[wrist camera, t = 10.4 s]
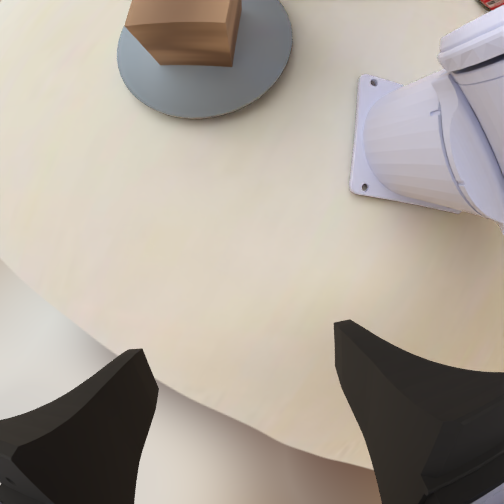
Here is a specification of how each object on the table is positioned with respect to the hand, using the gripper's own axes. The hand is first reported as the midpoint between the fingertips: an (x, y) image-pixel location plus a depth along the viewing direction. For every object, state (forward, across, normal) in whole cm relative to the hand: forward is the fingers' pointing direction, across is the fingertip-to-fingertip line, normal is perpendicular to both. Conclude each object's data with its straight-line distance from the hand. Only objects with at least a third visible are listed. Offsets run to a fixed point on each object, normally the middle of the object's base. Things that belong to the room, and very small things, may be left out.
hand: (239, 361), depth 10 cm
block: (+8, 0, -16) cm, 18 cm away
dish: (+9, 0, -16) cm, 18 cm away
